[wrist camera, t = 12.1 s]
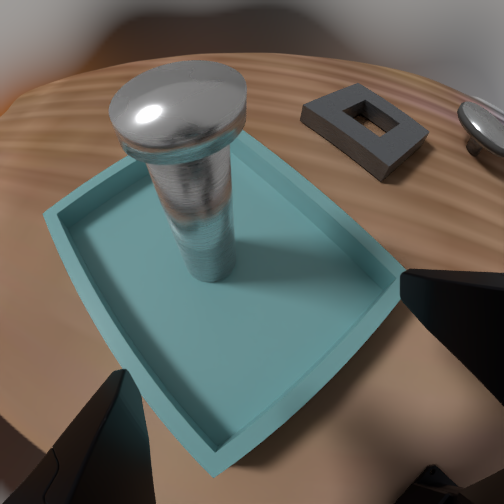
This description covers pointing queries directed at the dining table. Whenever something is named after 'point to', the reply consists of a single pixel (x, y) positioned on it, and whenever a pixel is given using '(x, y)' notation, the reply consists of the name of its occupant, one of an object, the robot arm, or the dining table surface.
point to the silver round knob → (481, 129)
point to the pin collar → (358, 136)
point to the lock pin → (188, 153)
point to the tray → (226, 298)
